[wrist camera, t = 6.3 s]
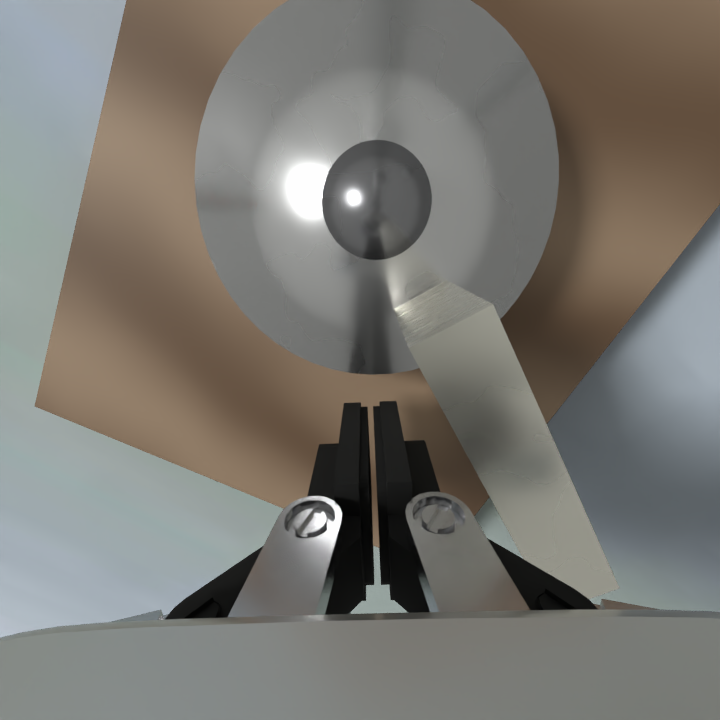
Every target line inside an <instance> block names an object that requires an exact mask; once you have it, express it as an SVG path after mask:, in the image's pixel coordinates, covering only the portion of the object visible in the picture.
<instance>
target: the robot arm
mask: <svg viewBox="0 0 720 720" xmlns="http://www.w3.org/2000/svg"><path fill="white" fill-rule="evenodd" d="M373 418H374V440H375V462H376V484H377V506H378V527H379V548H380V570H381V585H385V584H390V597H391V600H395V601H396V602H397V603H398V604H399V605H401V606H402V607H403V608H404V609H405V610H406V611H407V613H375V614H351V611H352V610H353V609H354V608H355V607H356V606H357V605H358V604H359V603H360V602H361V601H366V585H374V559H373V521H372V485H371V464H370V444H369V424H368V406H367V407H361V402H356V403H344V405H343V413H342V421H341V428H340V436H339V443H334V444H319V447H318V451H317V455H316V460H315V464H314V469H313V473H312V478H311V482H310V486H309V491H308V495H307V497H304V498H300V499H298V500H296V501H294V502H292V503H290V504H289V505H288V506H287V507H285V508H284V509H283V511H282V512H281V514H280V515H279V517H278V519H277V521H276V523H275V525H274V527H273V529H272V531H271V533H270V534H269V536H268V538H267V540H266V542H265V544H264V546H263V547H261V548H260V549H258V550H257V551H255V552H254V553H252V554H251V555H249V556H248V557H246V558H245V559H243V560H242V561H240V562H239V563H237V564H236V565H234V566H233V567H231V568H230V569H228V570H227V571H226V572H224V573H223V574H221V575H220V576H218V577H217V578H215V579H214V580H212V581H211V582H209V583H208V584H206V585H205V586H203V587H202V588H200V589H199V590H197V591H196V592H194V593H193V594H192V595H190V596H189V597H187V598H186V599H184V600H183V601H182V602H181V603H180V604H178V605H177V606H176V607H175V608H174V609H173V610H172V611H171V612H170V614H168V615H164V616H163V614H162V611H161V610H157V611H153V612H149V613H145V614H141V615H137V616H133V617H129V618H125V619H120V620H116V621H112V622H106V623H93V624H81V625H70V626H58V627H52V628H46V629H40V630H34V631H28V632H22V633H17V634H13V635H9V636H5V637H1V638H0V720H720V612H712V611H681V610H660V609H654V608H649V607H643V606H638V605H632V604H627V603H622V602H616V601H611V600H605V599H602V600H601V604H600V605H596V604H593V603H592V602H591V601H590V600H589V599H588V598H587V597H585V596H584V595H582V594H581V593H580V592H578V591H577V590H575V589H574V588H572V587H571V586H569V585H567V584H565V583H564V582H562V581H560V580H558V579H557V578H555V577H553V576H552V575H550V574H548V573H546V572H545V571H543V570H541V569H539V568H538V567H536V566H534V565H533V564H531V563H529V562H527V561H526V560H524V559H522V558H520V557H519V556H517V555H515V554H514V553H512V552H510V551H508V550H507V549H505V548H503V547H501V546H500V545H498V544H496V543H495V542H493V541H491V540H489V539H488V538H487V537H486V536H485V534H484V532H483V531H482V529H481V527H480V526H479V524H478V522H477V521H476V519H475V517H474V516H473V514H472V512H471V511H470V509H469V508H468V507H467V506H466V504H465V503H464V502H462V501H461V500H460V499H458V498H457V497H455V496H452V495H450V494H447V493H442V492H440V489H439V486H438V482H437V479H436V476H435V472H434V469H433V466H432V462H431V459H430V456H429V452H428V449H427V446H426V442H425V440H412V441H404V437H403V432H402V427H401V422H400V417H399V412H398V407H397V402H396V401H380V402H379V406H373Z"/></svg>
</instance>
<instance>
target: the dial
mask: <svg viewBox="0 0 720 720" xmlns="http://www.w3.org/2000/svg"><path fill="white" fill-rule="evenodd" d="M558 185H559V154H558V147H557V139H556V131H555V126H554V122H553V118H552V115H551V111H550V107H549V103H548V100H547V98H546V95H545V93H544V90H543V88H542V86H541V83H540V81H539V78H538V76H537V74H536V72H535V71H534V69H533V67H532V65H531V64H530V62H529V60H528V59H527V57H526V55H525V53H524V52H523V50H522V49H521V48H520V47H519V45H518V44H517V43H516V41H515V40H514V39H513V38H512V36H511V35H510V34H509V33H508V31H507V30H506V29H505V28H504V27H503V26H502V25H501V24H500V23H499V22H497V21H496V20H495V19H494V18H493V17H492V16H491V15H490V14H489V13H488V12H487V11H486V10H484V9H483V8H481V7H480V6H478V5H477V4H475V3H474V2H472V1H471V0H288V1H286V2H285V3H283V4H282V5H280V6H279V7H277V8H276V9H274V10H273V11H272V12H271V13H270V14H269V15H267V16H266V17H265V18H264V19H263V20H262V21H261V22H260V23H258V24H257V25H256V26H255V27H254V28H253V29H252V30H251V31H250V33H249V34H248V35H247V36H246V37H245V39H244V40H243V41H242V42H241V43H240V45H239V46H238V47H237V48H236V49H235V51H234V52H233V54H232V56H231V57H230V59H229V60H228V62H227V64H226V65H225V67H224V68H223V70H222V72H221V73H220V75H219V77H218V79H217V82H216V84H215V86H214V88H213V91H212V93H211V95H210V97H209V100H208V103H207V106H206V109H205V113H204V116H203V119H202V123H201V126H200V131H199V137H198V143H197V149H196V158H195V194H196V207H197V212H198V217H199V222H200V227H201V232H202V235H203V238H204V241H205V245H206V248H207V251H208V254H209V256H210V259H211V261H212V263H213V265H214V267H215V270H216V272H217V274H218V276H219V278H220V280H221V281H222V283H223V285H224V286H225V288H226V290H227V291H228V293H229V295H230V296H231V298H232V299H233V300H234V301H235V303H236V304H237V305H238V307H239V308H240V309H241V311H242V312H243V313H244V314H245V315H246V316H247V317H248V318H249V319H250V320H251V322H252V323H253V324H254V325H255V326H256V327H257V328H258V329H259V330H261V331H262V332H263V333H264V334H265V335H267V336H268V337H269V338H270V339H272V340H273V341H274V342H275V343H277V344H278V345H280V346H282V347H283V348H285V349H286V350H288V351H290V352H291V353H293V354H295V355H297V356H299V357H301V358H303V359H305V360H307V361H309V362H312V363H314V364H317V365H320V366H323V367H326V368H329V369H333V370H338V371H343V372H348V373H356V374H369V375H376V374H393V373H399V372H405V371H411V370H415V369H418V368H420V370H421V372H422V374H423V375H424V377H425V379H426V381H427V383H428V385H429V386H430V388H431V390H432V392H433V394H434V396H435V397H436V399H437V401H438V403H439V405H440V407H441V408H442V410H443V412H444V414H445V416H446V418H447V419H448V421H449V423H450V425H451V427H452V429H453V430H454V432H455V434H456V436H457V438H458V440H459V442H460V443H461V445H462V447H463V449H464V451H465V453H466V454H467V456H468V458H469V460H470V462H471V464H472V465H473V467H474V469H475V471H476V473H477V475H478V476H479V478H480V480H481V482H482V484H483V486H484V487H485V489H486V491H487V493H488V495H489V497H490V498H491V500H492V502H493V504H494V506H495V508H496V509H497V511H498V513H499V515H500V517H501V519H502V520H503V522H504V524H505V526H506V528H507V530H508V531H509V533H510V535H511V537H512V539H513V541H514V542H515V544H516V546H517V548H518V550H519V552H520V553H521V555H522V557H523V559H524V560H526V561H527V562H529V563H531V564H533V565H534V566H536V567H538V568H539V569H541V570H543V571H545V572H546V573H548V574H550V575H552V576H553V577H555V578H557V579H558V580H560V581H562V582H564V583H565V584H567V585H569V586H571V587H572V588H574V589H575V590H577V591H578V592H580V593H581V594H582V595H584V596H585V597H587V598H588V599H590V598H593V597H596V596H599V595H602V594H605V593H608V592H610V591H613V590H616V589H619V586H618V584H617V581H616V579H615V577H614V575H613V572H612V570H611V568H610V566H609V563H608V561H607V559H606V557H605V554H604V552H603V550H602V548H601V545H600V543H599V541H598V539H597V536H596V534H595V532H594V530H593V527H592V525H591V523H590V521H589V518H588V516H587V514H586V512H585V509H584V507H583V505H582V503H581V500H580V498H579V496H578V494H577V491H576V489H575V487H574V485H573V482H572V480H571V478H570V476H569V474H568V471H567V469H566V467H565V465H564V462H563V460H562V458H561V456H560V453H559V451H558V449H557V447H556V444H555V442H554V440H553V438H552V435H551V433H550V431H549V429H548V426H547V424H546V422H545V420H544V417H543V415H542V413H541V411H540V408H539V406H538V404H537V402H536V399H535V397H534V395H533V393H532V390H531V388H530V386H529V384H528V381H527V379H526V377H525V375H524V372H523V370H522V368H521V366H520V363H519V361H518V359H517V357H516V354H515V352H514V350H513V348H512V345H511V343H510V341H509V339H508V337H507V334H506V332H505V330H504V328H503V325H502V323H501V321H500V319H501V318H502V317H503V316H504V315H505V313H506V312H507V311H508V310H509V309H510V307H511V306H512V305H513V304H514V303H515V301H516V300H517V299H518V297H519V296H520V294H521V293H522V291H523V290H524V288H525V287H526V285H527V284H528V282H529V281H530V279H531V277H532V275H533V273H534V271H535V269H536V267H537V265H538V263H539V261H540V259H541V257H542V254H543V251H544V249H545V246H546V243H547V240H548V238H549V235H550V231H551V227H552V223H553V219H554V214H555V210H556V203H557V194H558Z"/></svg>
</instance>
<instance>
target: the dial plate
mask: <svg viewBox="0 0 720 720" xmlns="http://www.w3.org/2000/svg"><path fill="white" fill-rule="evenodd" d="M286 1H288V0H127V1H126V5H125V9H124V14H123V18H122V23H121V27H120V31H119V36H118V40H117V45H116V49H115V54H114V58H113V62H112V67H111V71H110V76H109V80H108V84H107V89H106V93H105V98H104V102H103V107H102V111H101V115H100V120H99V124H98V129H97V133H96V137H95V142H94V146H93V151H92V155H91V160H90V164H89V168H88V173H87V177H86V182H85V186H84V190H83V195H82V199H81V204H80V208H79V213H78V217H77V221H76V226H75V230H74V235H73V239H72V243H71V248H70V252H69V257H68V261H67V266H66V270H65V274H64V279H63V283H62V288H61V292H60V296H59V301H58V305H57V310H56V314H55V319H54V323H53V327H52V332H51V336H50V341H49V345H48V349H47V354H46V358H45V363H44V367H43V372H42V376H41V380H40V385H39V389H38V394H37V398H36V402H35V407H38V408H40V409H43V410H45V411H47V412H50V413H52V414H55V415H57V416H60V417H62V418H64V419H67V420H69V421H72V422H74V423H77V424H79V425H82V426H84V427H86V428H89V429H91V430H94V431H96V432H99V433H101V434H103V435H106V436H108V437H111V438H113V439H116V440H118V441H121V442H123V443H125V444H128V445H130V446H133V447H135V448H138V449H140V450H142V451H145V452H147V453H150V454H152V455H155V456H157V457H159V458H162V459H164V460H167V461H169V462H172V463H174V464H177V465H179V466H181V467H184V468H186V469H189V470H191V471H194V472H196V473H198V474H201V475H203V476H206V477H208V478H211V479H213V480H215V481H218V482H220V483H223V484H225V485H228V486H230V487H233V488H235V489H237V490H240V491H242V492H245V493H247V494H250V495H252V496H254V497H257V498H259V499H262V500H264V501H267V502H269V503H272V504H274V505H276V506H279V507H281V508H285V507H287V506H288V505H289V504H290V503H292V502H294V501H296V500H298V499H300V498H304V497H307V495H308V491H309V486H310V482H311V478H312V473H313V469H314V464H315V460H316V455H317V451H318V447H319V444H334V443H339V436H340V428H341V421H342V413H343V405H344V403H356V402H361V407H367V406H368V424H369V444H370V464H371V485H372V521H373V545H374V546H376V547H379V527H378V506H377V484H376V462H375V440H374V418H373V406H379V402H380V401H396V402H397V407H398V412H399V417H400V422H401V427H402V432H403V437H404V441H412V440H425V442H426V446H427V449H428V452H429V456H430V459H431V462H432V466H433V469H434V472H435V476H436V479H437V482H438V486H439V489H440V492H442V493H447V494H450V495H452V496H455V497H457V498H458V499H460V500H461V501H462V502H464V503H465V504H466V506H467V507H468V508H469V509H470V511H471V512H472V514H473V516H475V515H476V513H477V512H478V511H479V510H480V508H481V507H482V506H483V505H484V503H485V502H486V501H487V499H488V498H489V495H488V493H487V491H486V489H485V487H484V486H483V484H482V482H481V480H480V478H479V476H478V475H477V473H476V471H475V469H474V467H473V465H472V464H471V462H470V460H469V458H468V456H467V454H466V453H465V451H464V449H463V447H462V445H461V443H460V442H459V440H458V438H457V436H456V434H455V432H454V430H453V429H452V427H451V425H450V423H449V421H448V419H447V418H446V416H445V414H444V412H443V410H442V408H441V407H440V405H439V403H438V401H437V399H436V397H435V396H434V394H433V392H432V390H431V388H430V386H429V385H428V383H427V381H426V379H425V377H424V375H423V374H422V372H421V370H420V368H418V369H415V370H411V371H405V372H399V373H393V374H376V375H369V374H356V373H348V372H343V371H338V370H333V369H329V368H326V367H323V366H320V365H317V364H314V363H312V362H309V361H307V360H305V359H303V358H301V357H299V356H297V355H295V354H293V353H291V352H290V351H288V350H286V349H285V348H283V347H282V346H280V345H278V344H277V343H275V342H274V341H273V340H272V339H270V338H269V337H268V336H267V335H265V334H264V333H263V332H262V331H261V330H259V329H258V328H257V327H256V326H255V325H254V324H253V323H252V322H251V320H250V319H249V318H248V317H247V316H246V315H245V314H244V313H243V312H242V311H241V309H240V308H239V307H238V305H237V304H236V303H235V301H234V300H233V299H232V298H231V296H230V295H229V293H228V291H227V290H226V288H225V286H224V285H223V283H222V281H221V280H220V278H219V276H218V274H217V272H216V270H215V267H214V265H213V263H212V261H211V259H210V256H209V254H208V251H207V248H206V245H205V241H204V238H203V235H202V232H201V227H200V222H199V217H198V212H197V207H196V194H195V158H196V149H197V143H198V137H199V131H200V126H201V123H202V119H203V116H204V113H205V109H206V106H207V103H208V100H209V97H210V95H211V93H212V91H213V88H214V86H215V84H216V82H217V79H218V77H219V75H220V73H221V72H222V70H223V68H224V67H225V65H226V64H227V62H228V60H229V59H230V57H231V56H232V54H233V52H234V51H235V49H236V48H237V47H238V46H239V45H240V43H241V42H242V41H243V40H244V39H245V37H246V36H247V35H248V34H249V33H250V31H251V30H252V29H253V28H254V27H255V26H256V25H257V24H258V23H260V22H261V21H262V20H263V19H264V18H265V17H266V16H267V15H269V14H270V13H271V12H272V11H273V10H274V9H276V8H277V7H279V6H280V5H282V4H283V3H285V2H286ZM471 1H472V2H474V3H475V4H477V5H478V6H480V7H481V8H483V9H484V10H486V11H487V12H488V13H489V14H490V15H491V16H492V17H493V18H494V19H495V20H496V21H497V22H499V23H500V24H501V25H502V26H503V27H504V28H505V29H506V30H507V31H508V33H509V34H510V35H511V36H512V38H513V39H514V40H515V41H516V43H517V44H518V45H519V47H520V48H521V49H522V50H523V52H524V53H525V55H526V57H527V59H528V60H529V62H530V64H531V65H532V67H533V69H534V71H535V72H536V74H537V76H538V78H539V81H540V83H541V86H542V88H543V90H544V93H545V95H546V98H547V100H548V103H549V107H550V111H551V115H552V118H553V122H554V126H555V131H556V139H557V147H558V154H559V185H558V194H557V203H556V210H555V214H554V219H553V223H552V227H551V231H550V235H549V238H548V240H547V243H546V246H545V249H544V251H543V254H542V257H541V259H540V261H539V263H538V265H537V267H536V269H535V271H534V273H533V275H532V277H531V279H530V281H529V282H528V284H527V285H526V287H525V288H524V290H523V291H522V293H521V294H520V296H519V297H518V299H517V300H516V301H515V303H514V304H513V305H512V306H511V307H510V309H509V310H508V311H507V312H506V313H505V315H504V316H503V317H502V318H501V319H500V321H501V323H502V325H503V328H504V330H505V332H506V334H507V337H508V339H509V341H510V343H511V345H512V348H513V350H514V352H515V354H516V357H517V359H518V361H519V363H520V366H521V368H522V370H523V372H524V375H525V377H526V379H527V381H528V384H529V386H530V388H531V390H532V393H533V395H534V397H535V399H536V402H537V404H538V406H539V408H540V411H541V413H542V415H543V417H544V420H545V422H546V424H547V423H548V422H549V421H550V419H551V418H552V417H553V416H554V414H555V413H556V412H557V410H558V409H559V408H560V407H561V405H562V404H563V403H564V402H565V400H566V399H567V398H568V396H569V395H570V394H571V393H572V391H573V390H574V389H575V388H576V386H577V385H578V384H579V382H580V381H581V380H582V379H583V377H584V376H585V375H586V374H587V372H588V371H589V370H590V369H591V367H592V366H593V365H594V363H595V362H596V361H597V360H598V358H599V357H600V356H601V355H602V353H603V352H604V351H605V349H606V348H607V347H608V346H609V344H610V343H611V342H612V341H613V339H614V338H615V337H616V335H617V334H618V333H619V332H620V330H621V329H622V328H623V327H624V325H625V324H626V323H627V321H628V320H629V319H630V318H631V316H632V315H633V314H634V313H635V311H636V310H637V309H638V307H639V306H640V305H641V304H642V302H643V301H644V300H645V299H646V297H647V296H648V295H649V294H650V292H651V291H652V290H653V288H654V287H655V286H656V285H657V283H658V282H659V281H660V280H661V278H662V277H663V276H664V274H665V273H666V272H667V271H668V269H669V268H670V267H671V266H672V264H673V263H674V262H675V260H676V259H677V258H678V257H679V255H680V254H681V253H682V252H683V250H684V249H685V248H686V246H687V245H688V244H689V243H690V241H691V240H692V239H693V238H694V236H695V235H696V234H697V233H698V231H699V230H700V229H701V227H702V226H703V225H704V224H705V222H706V221H707V220H708V219H709V217H710V216H711V215H712V213H713V212H714V211H715V210H716V208H717V207H718V206H719V205H720V0H471Z"/></svg>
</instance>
